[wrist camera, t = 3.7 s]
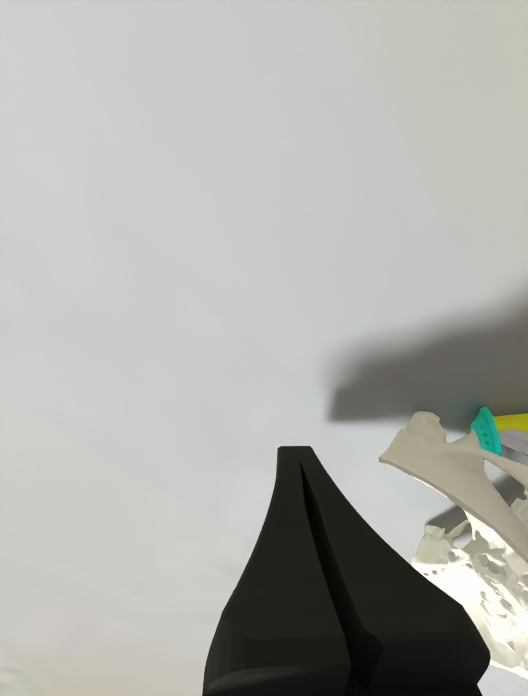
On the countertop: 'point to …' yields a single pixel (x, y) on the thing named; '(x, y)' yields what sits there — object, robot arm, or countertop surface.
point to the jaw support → (475, 525)
